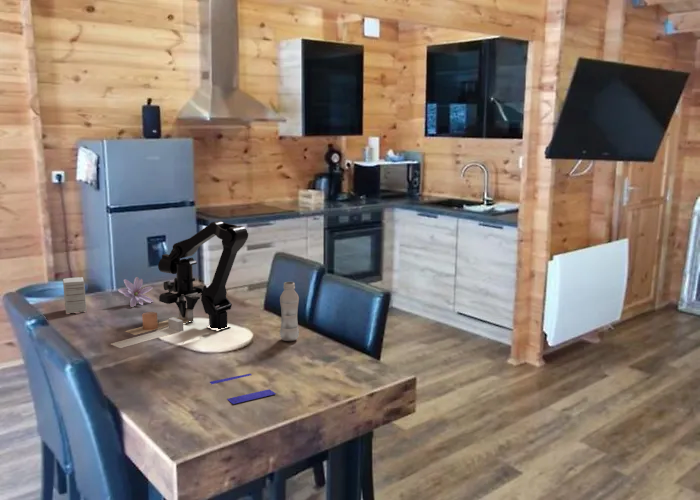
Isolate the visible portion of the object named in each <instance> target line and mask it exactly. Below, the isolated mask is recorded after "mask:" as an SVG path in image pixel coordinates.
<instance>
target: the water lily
mask: <svg viewBox="0 0 700 500" xmlns="http://www.w3.org/2000/svg"><path fill="white" fill-rule="evenodd" d="M123 282H124V285H125V287H126V288H123V287H122V288H118V290H117V291H118V292H119V293H120V294H123V296H124V297H126V298H130V302H129V305H130V308H131V307H132V306H135V307H136V305H137V303H138V304H139V305H142V306H143V305H144V302H146V303H151V302H154V300H153V299H152V298H151V297H148V296H147V295H146V294H147V293H148V292H150V291H151V290H153V288H154V287H153V286H146V287H143V288H142V286H143V283H144V280H143V278H139V277H138V276H136V277H135V278H134V280H133V283H132V282H131V281H129V280H128V279H125V278H124V279H123ZM151 304H152V303H151Z"/></svg>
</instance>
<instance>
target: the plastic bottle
mask: <svg viewBox="0 0 700 500" xmlns="http://www.w3.org/2000/svg"><path fill="white" fill-rule="evenodd" d="M295 289H296V284H295V282H294V281H285V282H283V291H282V293H281V294H280V296H279V303H280V311H281V312H280V313H281V318H280V319H281V321H280V322H281V323H280V328H279V329H280V330H279V337H280V338H281V340H282V341H285V342H294V341H296V340H297V339H298V338H299V336H300V329H299V323H298V309H299V300H300V297H299V294H298V292H296V290H295Z"/></svg>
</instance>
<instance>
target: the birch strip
mask: <svg viewBox="0 0 700 500" xmlns="http://www.w3.org/2000/svg"><path fill="white" fill-rule="evenodd" d="M176 318H177V319H180V320H183V323H186V322H189V321H193V322H194V309H193V310H191V309H188V308H187V307H186V313H185V317H184V318H183V317H182V315H181V313H180V311H179V310H178V317H176ZM168 327H169V326H168V319H167V320H164V321H159V322H158V328H156V329H153V330H145V329H143V326H140V327H137V328H132V329H128V330H126V331H125V330H124V332H125V333H127V334H131V335H133V336H137V335H139V334H141V335H142V334H144V333H145V334H146V333H147V332H148V333H149V332H152V331H154V330H156V331H157V330H160V329H163V328H168Z"/></svg>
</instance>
